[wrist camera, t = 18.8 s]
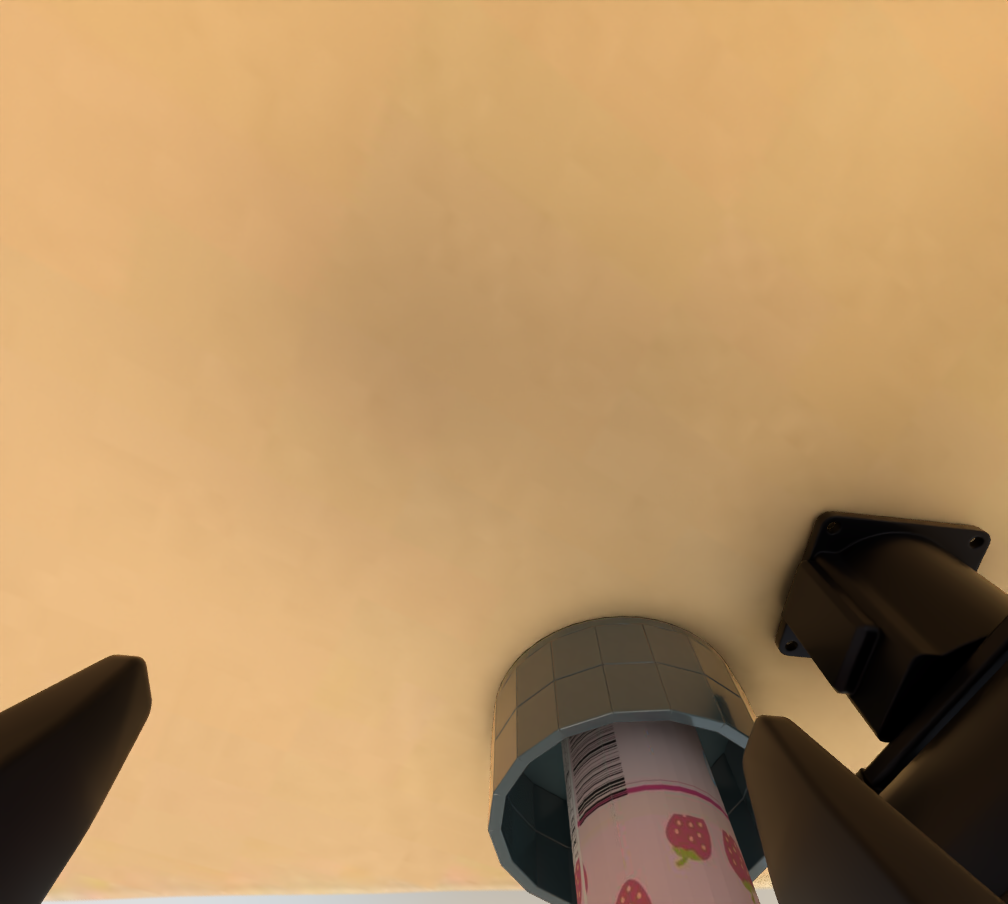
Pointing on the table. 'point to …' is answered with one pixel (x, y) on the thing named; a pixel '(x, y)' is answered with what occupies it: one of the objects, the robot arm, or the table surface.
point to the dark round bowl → (596, 703)
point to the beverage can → (649, 819)
